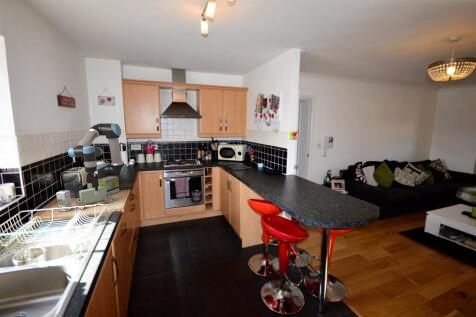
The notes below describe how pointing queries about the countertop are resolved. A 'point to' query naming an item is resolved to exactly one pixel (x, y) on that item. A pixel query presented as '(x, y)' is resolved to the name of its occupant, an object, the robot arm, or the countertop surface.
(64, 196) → the syrup box
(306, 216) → the countertop surface
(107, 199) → the cradle
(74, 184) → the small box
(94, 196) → the pale green block
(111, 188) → the tea box
